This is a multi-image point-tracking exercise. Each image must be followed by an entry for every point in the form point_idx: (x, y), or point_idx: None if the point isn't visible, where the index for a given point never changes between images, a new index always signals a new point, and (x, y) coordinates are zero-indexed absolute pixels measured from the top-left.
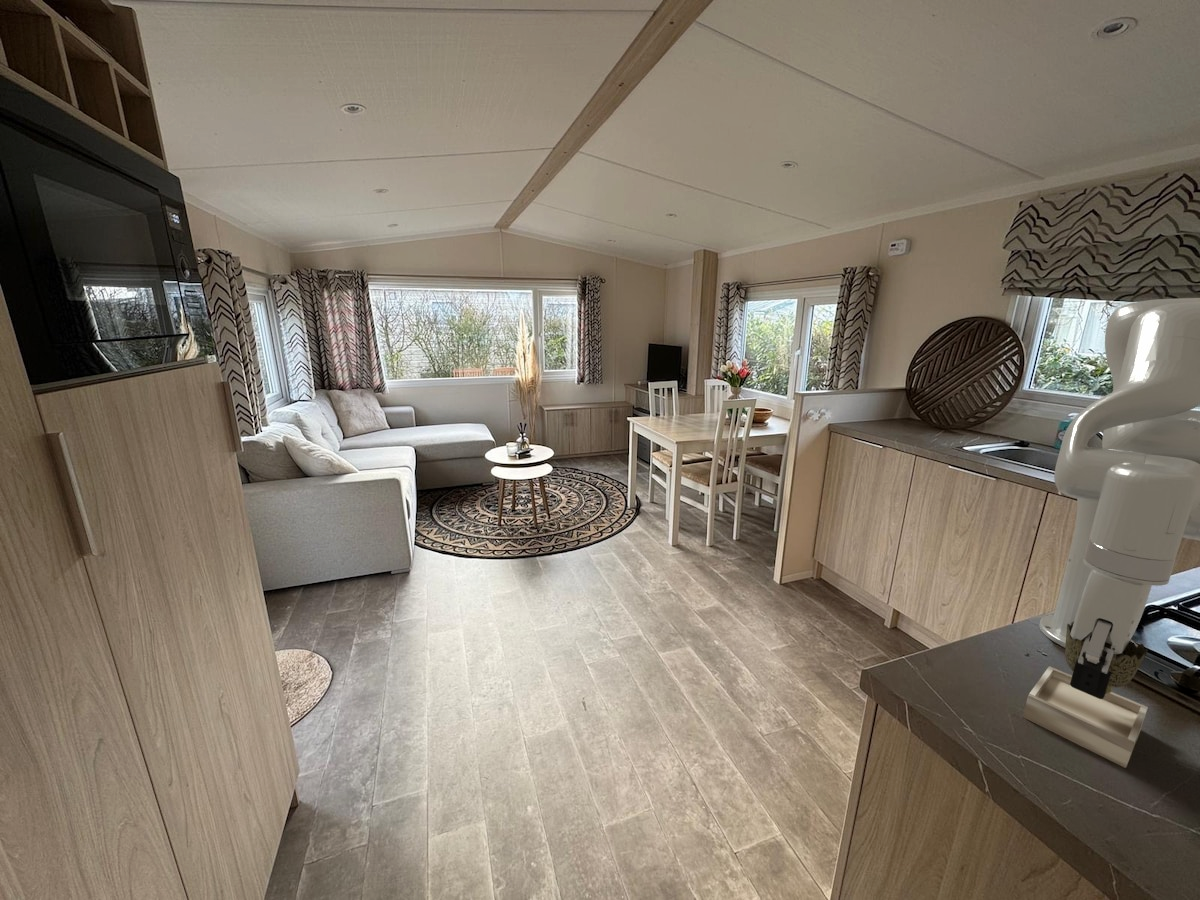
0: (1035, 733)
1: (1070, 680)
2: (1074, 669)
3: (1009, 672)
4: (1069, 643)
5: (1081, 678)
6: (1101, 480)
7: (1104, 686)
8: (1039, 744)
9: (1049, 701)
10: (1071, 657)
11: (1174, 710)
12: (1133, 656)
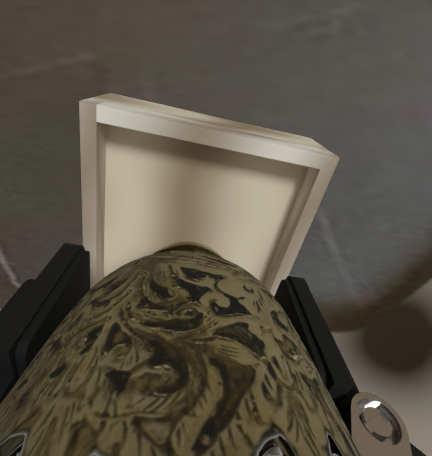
0: (65, 124)
1: (299, 206)
2: (25, 298)
3: (338, 43)
4: (60, 368)
5: (9, 306)
6: None
7: None
8: (28, 134)
9: (158, 157)
10: (83, 306)
11: (357, 321)
12: None
